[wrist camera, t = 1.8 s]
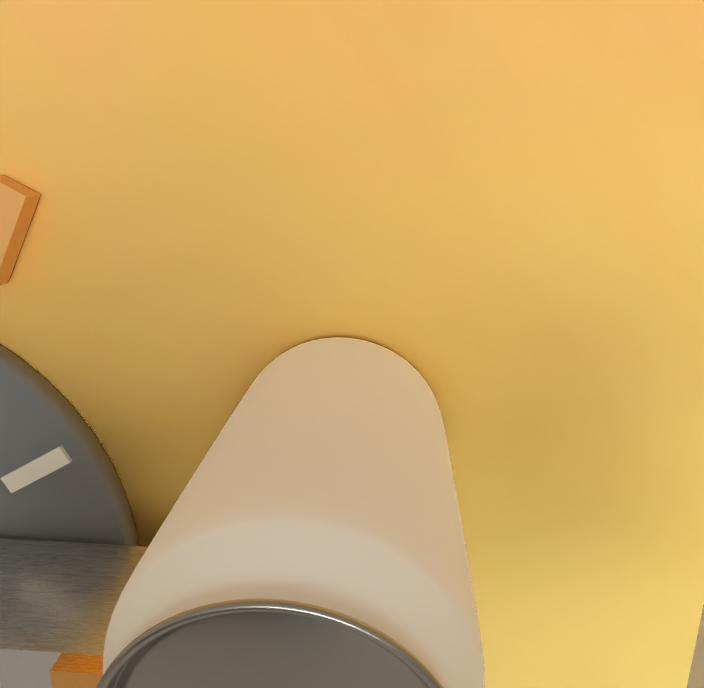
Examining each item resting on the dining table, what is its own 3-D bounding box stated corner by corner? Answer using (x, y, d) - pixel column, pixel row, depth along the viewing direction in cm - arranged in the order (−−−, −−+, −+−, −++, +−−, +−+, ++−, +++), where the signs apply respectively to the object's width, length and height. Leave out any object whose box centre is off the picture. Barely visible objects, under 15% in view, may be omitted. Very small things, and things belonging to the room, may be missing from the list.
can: (227, 341, 20) (4, 588, 9) (436, 323, 20) (492, 564, 8) (257, 524, 22) (105, 930, 10) (449, 513, 21) (512, 931, 10)
